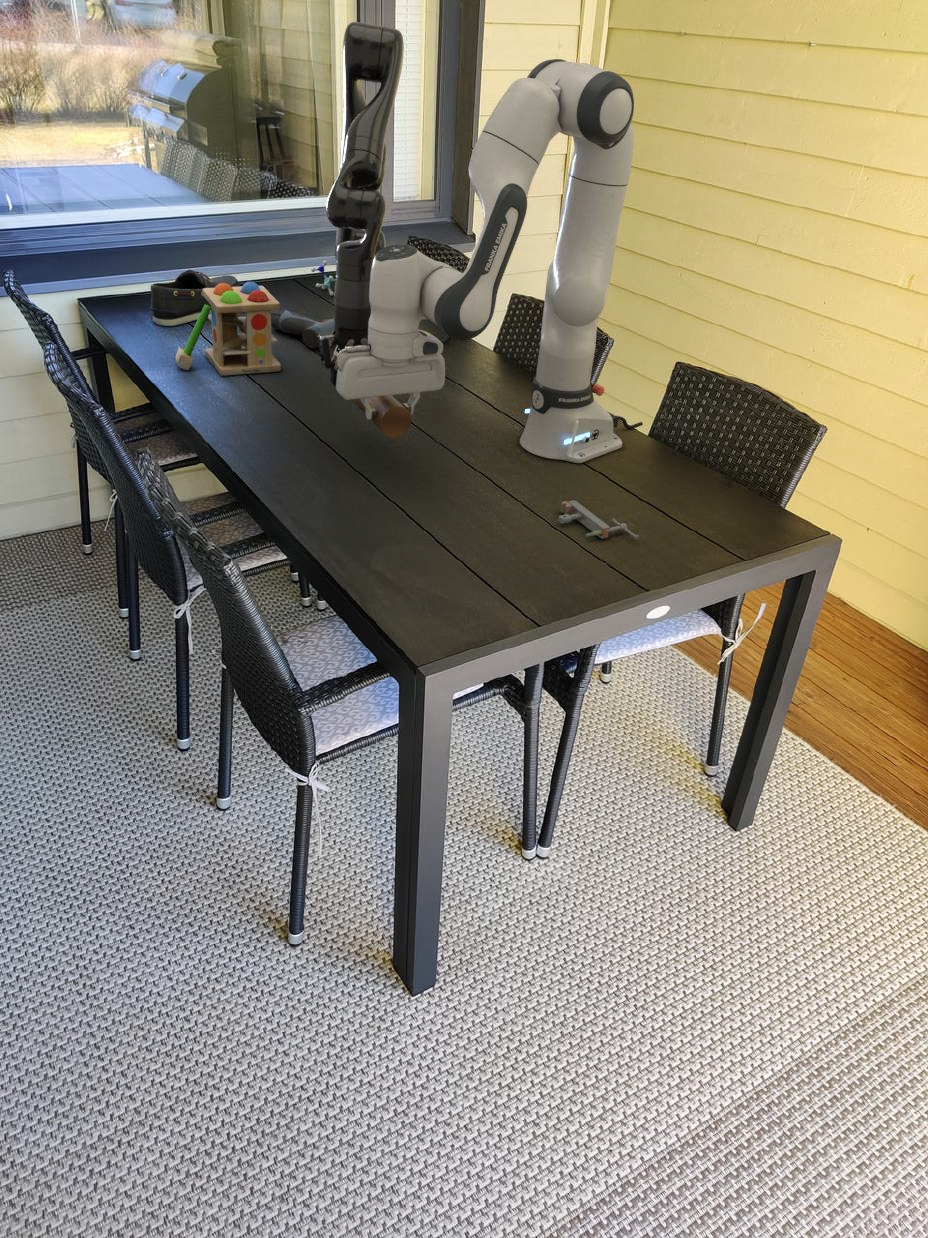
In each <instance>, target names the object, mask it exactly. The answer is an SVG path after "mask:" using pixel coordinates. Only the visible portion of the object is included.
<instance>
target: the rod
mask: <svg viewBox="0 0 928 1238" xmlns="http://www.w3.org/2000/svg"><path fill="white" fill-rule="evenodd" d="M351 402H352V403H353V404H355V405H356V406H357V408H359V410H360V411H361V412H362V413H363V414H364V415H365V416H366V408H365V407H364V405H363V403H362V402H361V400H360V399H351ZM368 403H369V402H368ZM369 405H370V407H374V409H376V410H377V414H376V416H377V417H376V419H370V420H369V421H371V422H372V423H373V424H374V425H375V426H376V427H377V428H378V430H380V431H381V432H382V433H383V434H384V436H386V437H388V438H391V439H392V438H393V439H394V438H395V439H396V438H399V437H402V436H403V435H404V434H406V433H407V432H408V430H410V427H411V424H412V415H410V413H409V411H408V410H407V409H406V408H405V407H404V406H403V403H401V402H400V401H399V400H398V399H397V398H396V397H395V396H394V395H388V396H378V397H372V400H371V402H370V403H369Z"/></svg>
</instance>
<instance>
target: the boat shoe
mask: <svg viewBox="0 0 928 1238" xmlns="http://www.w3.org/2000/svg"><path fill="white" fill-rule="evenodd" d="M221 283H226V284H228V285H230V286H231V287H241V284H240V282H239V280H238V279H237V277H235V276H234V275H222V276H221V275H220V276H216V277H212V278H210V277H209V276H207V275H206V274H205V273H203V272H201V271H197V270H192V269H187V270H185V271H183V272H181V273H179V275H178V276H177V277H176V279H175V280H174V281H170V282H169V281H168V282H156V283H151V284H150V293H151V294H150V295H151V303H150V304H151V306H150V307H149V309H150V311H152V322H153V323H154V324H157V325H158V326H159V325H160V326H164V327H172V326H178V325H182V324H186V323H189V322H193V321H197V320H198V318H199V316H200V314H201V311H202V309H203V307H204V305H208V306H210V307H211V305H210V304H209V302H208V301H207V300H206V299H205V297H204V296H203V289H204V288H215V287H216V286H217V285H218V284H221ZM209 314H211V310H210V312H209Z"/></svg>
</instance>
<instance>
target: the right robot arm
mask: <svg viewBox="0 0 928 1238" xmlns="http://www.w3.org/2000/svg"><path fill="white" fill-rule="evenodd" d="M634 111H635V97H634V92H633V89H632V87H631V85H630V83H629V82H628V81H627V80H626V79H625V78H623V76H620V75H619V74H617V73H616V72H614V71H611V70H605V69H603V68H601V67H599V66H596V65H593V64H589V63H587V62H574V61H567V60H565V59H562V58H553V59H551V58H550V59H547V60H544V61H542V62H540V63H538V64H537V65H536V66H535V67H534V68H532V70H531V71H530V72H529V73H528V75H527V76H526V77H521V78H518V79H516V80H514V81H513V82H512V83H511V84H510V85H509V86H508V88H507V90H505V92H504V93H503V95H502V96H501V98H500V99H499V101H498V102H497V104H496V106H495V107H494V109H493V110H492V112H491V114H490V115H489V117H488V119H487V121H486V122H485V124H484V127H483V128H482V131H481V132H480V134H479V137H478V138H477V141H476V142H475V145H474V148H473V149H472V153H471V156H470V160H469V164H468V167H467V168H468V169H467V170H468V176H469V181H470V184H471V186H472V189H473V191H474V193H475V195H476V196H477V197H478V200H479V202H480V205H481V209H482V215H483V219H482V220H483V221H482V226H481V229H480V232H479V235H478V238H477V240H476V243H475V246H474V248H473V250H472V253H471V255H470V257H469V261H468V262H467V263H468V264H467V266H466V268H465V270H464V271H463V272H460V270H458V269H456V268H455V267H453V266H451V265H449V264H447V263H445V262H442V261H439V260H435V259H434V258H430V257H429V256H428V255H425V254H424V253H423V252H421V251H419V250H418V248H417V247H416V246H414V245H412V244H411V245H410V244H390V245H387V246H386V247H385V248H383V249H381V250H380V251H378V252H377V254H376V255H375V257H374V260H373V263H372V268H371V275H370V288H369V302H370V306H371V315H370V318H369V322H368V325H369V326H368V344H366V345H358V346H347V347H345V349H343V350H341V351H340V352H339V353H338V356H337V367H338V372H337V380H336V387H335V390H336V392H337V393H338V394H339V396H340V397H341V398H343V399H344V400H347V401H350V400H351V399H360V400H361V402H362V403H363V405H364V407H365V408H366V415H365V418H366V419H367V420H368V421H371V420H370V419H376V417H377V416H376V414H377V410H376V409H374V407H370V405H369V403H370V402H371V400H372V397H378V396H388V395H392V396H396V395H406V394H409V398H407V399H408V400H407V401H406V402H403V403H402V405H403V406H404V407H405V408H406V409H407V410H408V411H409V413H410V415H411V416H412V415H414V411H415V410H414V409H415V406H416V404H418V401H419V400H420V398H421V393H423V392H432V391H433V392H434V391H440V390H441V389H442V388H443V387H444V385H445V383H446V362H445V357H443V355H442V353H443V351H444V344H442V343H441V342H440V341H441V340H440V339H439V338H437V337H436V336H435V335H433V334H432V333H430V332H428V331H425V330H421V329H419V327H420V322H421V321H424V320H429V321H430V322H432V323H433V324H434V325H436V326H438V328H439V329H441V330H442V332H444V333H445V334H446V335H448V336H449V338H450V339H453V340H455V341H461V342H462V341H469V340H472V339H474V338H476V337H478V336H479V335H481V334H482V333H483V332H484V331H485V330H486V329H487V328H488V327H489V325H490V323H491V321H492V319H493V316H494V313H495V308H496V303H497V296H498V292H499V289H500V285H501V283H502V280H503V276H504V274H505V272H506V270H507V266H508V264H509V262H510V259H511V256H512V254H513V251H514V249H515V246H516V243H517V240H518V238H519V235H520V234H521V231H522V227H523V225H524V223H525V218H526V214H527V209H528V197H529V192H530V189H531V185H532V183H533V180H534V178H535V175H536V173H537V171H538V169H539V167H540V164H541V163H542V161H543V158H544V156H545V154H546V152H547V150H548V147H549V145H550V142H551V141H552V140H553V139H554V137H555V136H557V135H558V134H562V135H564V136H568V137H572V140H573V147H574V148H573V152H572V156H571V160H570V164H569V169H568V173H567V179H566V184H565V188H564V189H565V190H564V195H563V200H562V206H561V211H560V217H559V223H558V229H557V238H556V244H555V250H554V251H555V252H554V257H553V259H552V261H551V263H550V265H549V267H548V270H547V275H546V283H545V293H544V303H543V311H542V320H541V321H542V322H541V332H540V341H539V349H538V357H537V364H536V372H535V373H536V374H535V376H534V377H533V381H532V386H531V393H530V395H531V396H530V397H531V399H530V400H531V401H530V402H531V405H530V407H529V408H526V409H524V414H528V416H527V419H526V422H525V426H524V428H523V432H522V434H521V436H520V438H519V444H520V446H521V447H522V448H523V449H524V450H525V451H527V452H528V453H531V454H532V455H536V456H539V457H542V458H546V459H551V460H560V461H561V460H562V461H567V462H570V463H575V464H582V463H586V462H587V461H590V460H593V459H595V458H598V457H601V456H603V455H606V454H608V453H612V452H614V451H617V450H618V449H621V448H622V447H623V441H622V439H621V438H620V437H619V436H618V434H616V433H615V432H614V429H615V428H617V427H618V423H619V421H621V422H622V424H623V426H624V428H625V429H627V430H633V429H636V428H638V427H639V428H640V427H642V426H643V424H644V422H642V421H640V422H636V423H634V424H631V425H630V424H628V422H627V420H626V418H625V417H623V416H620V415H615V414H613V413H611V412H609V411H608V410H606V409H605V408H604V407H603V406H602V405H601V404H600V403H598V402H597V400H596V399H595V398H594V394H595V395H596V396H597V397H602V396H603V395H604V393H605V387H604V386H602V385H600V384H599V383H594V384H593V382H592V381H591V378H592V377H591V376H592V371H593V364H594V359H595V352H596V347H597V346H596V345H597V343H596V342H597V332H598V321H599V317H600V315H601V314H602V313H603V310H604V308H605V306H606V303H607V299H608V293H609V289H610V283H611V277H612V272H613V267H614V266H613V265H614V261H615V260H614V258H615V253H616V246H617V239H618V232H619V226H620V224H621V223H620V222H621V218H622V213H623V209H624V204H625V200H626V196H627V195H626V194H627V191H628V186H629V181H630V176H631V171H632V164H633V156H634V143H635V130H634V126H633V123H632V120H633V118H634ZM344 351H345V352H344ZM351 401H352V400H351ZM368 402H369V403H368ZM631 428H632V429H631Z"/></svg>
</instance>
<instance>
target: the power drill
mask: <svg viewBox="0 0 928 1238" xmlns="http://www.w3.org/2000/svg"><path fill="white" fill-rule="evenodd" d="M271 328H274V329H276V330H278V331H281V332H284V333H288V334H290V335H296V336H300V337H302V341H303V343H304V344H305V346H306V347H308V348H309V349H316V348H319V340H318V336H319V335H320V334H322V335H324V336H327V335H331V334H332V333H333V331H334V328H335V325H334V318H331V319H324V320H322V321H320V322H319V321H316V320H314V319H312V318H309V317H306V316H304V315H302V314H300V313H297V312H293V311H291V310H288V309H283V308H280V310H271Z"/></svg>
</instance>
